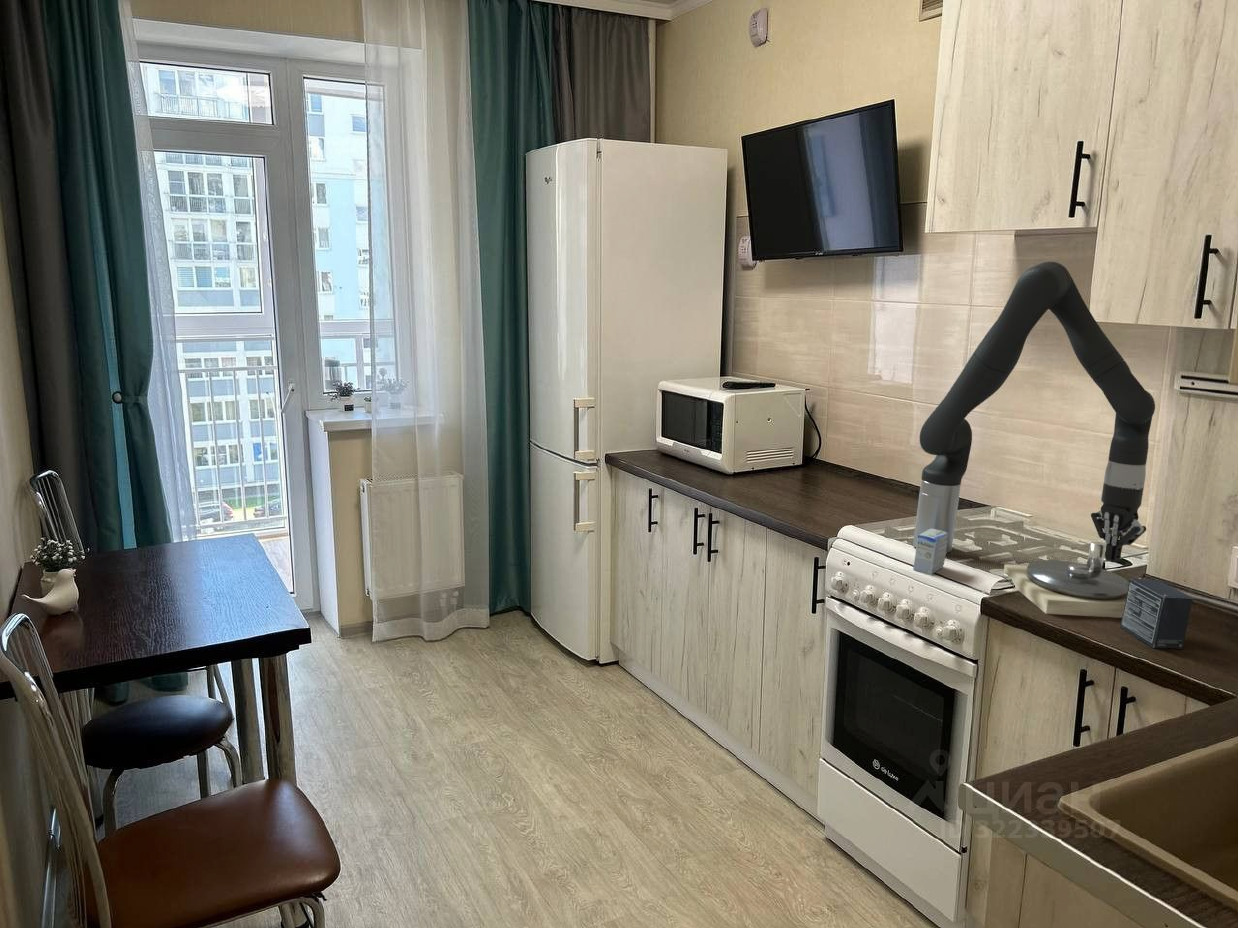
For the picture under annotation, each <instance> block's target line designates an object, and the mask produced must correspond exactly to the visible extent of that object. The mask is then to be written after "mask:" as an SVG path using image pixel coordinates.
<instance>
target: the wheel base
mask: <svg viewBox="0 0 1238 928" xmlns="http://www.w3.org/2000/svg"><path fill="white" fill-rule="evenodd" d="M1027 566H1028V565H1024V564H1023V565H1022V564H1004V566H1003V572H1004V573H1005V574H1007V575H1008V576H1009V577H1010V578H1011V579H1012V581H1013V583H1014V585H1015V587H1014V588H1015V589H1016V590H1017V591H1018V592H1020V593H1021V594H1022V595H1023V596H1025V597H1026V598H1027V599H1028V600H1029V601H1030V602H1031V603H1032V604H1034V605H1035V606H1036V607H1037V608H1039V610H1041V611H1042V612H1043V613H1044V614H1046V615H1059V616H1060V615H1065V616H1078V617H1079V616H1081V617H1083V616H1085V617H1098V618H1099V617H1101V618H1118V619H1120V618H1121V619H1122V617H1123V612H1124V607H1125V602H1126V597H1127V596H1125V597H1123V598H1118V599H1092V598H1084V597H1078V596H1072V595H1068V594H1064V593H1060V592H1056V591H1053V590H1050V589H1047V588H1045V587H1042V586H1040V585H1038V584H1036V583H1034V582H1033V581H1031V580H1030V579H1029V578H1028V577H1027V575H1026V571H1027Z"/></svg>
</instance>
